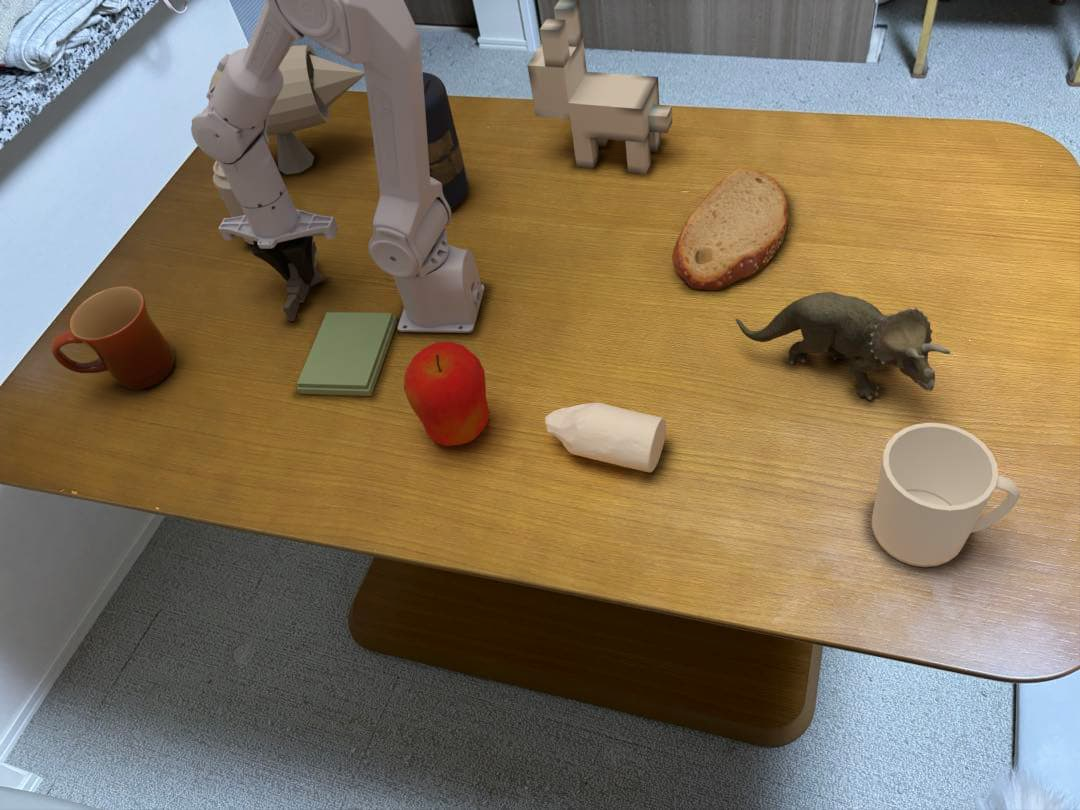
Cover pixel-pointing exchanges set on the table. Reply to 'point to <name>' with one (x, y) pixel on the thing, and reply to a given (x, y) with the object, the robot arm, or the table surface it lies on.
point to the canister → (443, 142)
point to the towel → (347, 354)
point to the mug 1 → (118, 339)
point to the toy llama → (594, 95)
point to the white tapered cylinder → (609, 434)
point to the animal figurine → (299, 286)
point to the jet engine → (303, 102)
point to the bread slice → (732, 231)
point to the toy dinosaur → (856, 337)
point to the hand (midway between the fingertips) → (301, 278)
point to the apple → (448, 392)
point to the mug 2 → (935, 493)
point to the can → (227, 194)
